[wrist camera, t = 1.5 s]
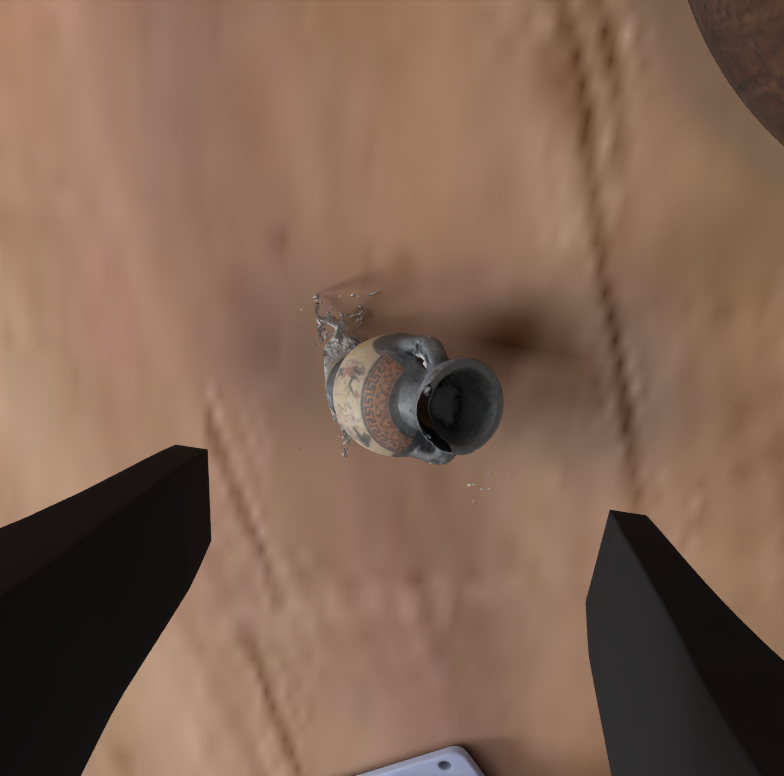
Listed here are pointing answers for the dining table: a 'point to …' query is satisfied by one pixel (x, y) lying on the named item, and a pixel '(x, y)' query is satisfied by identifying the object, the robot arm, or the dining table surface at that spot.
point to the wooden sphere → (748, 52)
